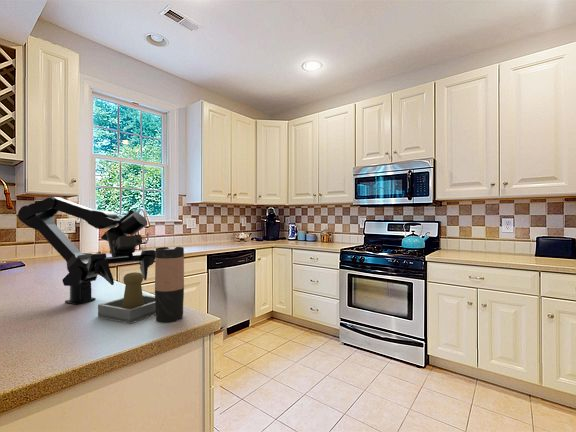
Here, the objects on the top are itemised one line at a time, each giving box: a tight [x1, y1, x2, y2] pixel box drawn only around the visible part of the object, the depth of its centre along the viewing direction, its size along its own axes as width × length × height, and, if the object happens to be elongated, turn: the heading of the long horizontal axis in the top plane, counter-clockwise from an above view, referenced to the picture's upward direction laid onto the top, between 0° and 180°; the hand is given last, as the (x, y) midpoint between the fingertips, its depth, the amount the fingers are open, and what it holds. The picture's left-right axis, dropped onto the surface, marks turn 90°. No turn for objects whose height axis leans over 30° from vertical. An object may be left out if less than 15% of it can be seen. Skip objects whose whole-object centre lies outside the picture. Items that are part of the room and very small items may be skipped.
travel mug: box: [154, 246, 185, 324], centre depth 83 cm, size 8×8×20 cm
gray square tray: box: [97, 294, 156, 325], centre depth 87 cm, size 13×13×4 cm
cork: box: [122, 271, 144, 309], centre depth 87 cm, size 6×6×11 cm
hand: (129, 281), depth 89 cm, fingers open, 9 cm apart
